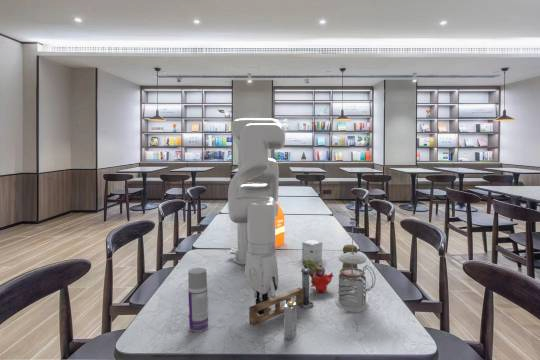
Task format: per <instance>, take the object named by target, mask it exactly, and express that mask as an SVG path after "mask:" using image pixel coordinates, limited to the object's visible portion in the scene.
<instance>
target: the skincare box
mask: <svg viewBox="0 0 540 360" xmlns="http://www.w3.org/2000/svg"><path fill="white" fill-rule="evenodd" d="M301 246H302V247H301V259H302V260H306V259H310V260H312V261H313V262H314V263H315V262H319V261H320V260H322V259H323V242H322V241H319V240H315V239H308V240H305V241H302V242H301Z"/></svg>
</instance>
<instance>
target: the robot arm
mask: <svg viewBox="0 0 540 360" xmlns="http://www.w3.org/2000/svg"><path fill="white" fill-rule="evenodd" d="M230 130H231V131H230V133H231V135H232V138H233V140H234V142H235V144H236V147H237V171H236V172H235V173H234V175H233V176H232V178H231V180H230V182H229V185H228V188H227V189H228V192H227V205H228V206H227V208H228V209H227V210H228V218H229V219H230V220H231V222H233V223H234V224H236V226H237V229H236V231H237V233H236V234H237V248H235V247H231V248H230V251H229V254H230V255H235V256H234V258H233V261H234V263H236V264H237V265H240V266H244V283H245V284H246V285H247V286H248V287H250V288H251V289H253V297H254V298H255V305H256V304H258V303H261V302H263V301H266V300H269V299H271V298H274V297H276V291H277V290H278V289H279V271H278V260H277V255H276V252H277V251H276V249H277V247H276V235H275V218H276V216H277V215H278V204H279V203H278V201H279V182H280V180H279V178H280V176H279V175H280V170H279V169H280V168H279V163H278V161H277V160H275V158H269V150H281V149H283V148H284V146H285V143H286V134H285V129H284V127H283V125H282V123H281V122H280V121H279V119H275V118H249V117H248V118H237V119H233V121H232V122H231V124H230ZM277 203H278V204H277ZM262 314H264V309H263V310H260V311H258V316H260V315H262Z"/></svg>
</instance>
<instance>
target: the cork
mask: <svg viewBox="0 0 540 360" xmlns="http://www.w3.org/2000/svg"><path fill="white" fill-rule="evenodd" d="M358 249H359V248H358V246H357V245H355V244H353V252H355V253H358ZM348 252H352V244H345V245H344V246H343V247H342V254H344V253H348ZM343 268H352V264H347V263H343V262H342V267H341V269H343ZM353 268H357V269H359V268H358V264H353ZM355 279H358V277H356V278H355Z"/></svg>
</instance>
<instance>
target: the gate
mask: <svg viewBox="0 0 540 360" xmlns="http://www.w3.org/2000/svg"><path fill="white" fill-rule="evenodd" d="M294 297H295V300H294V301H293V300H292V298H294ZM287 301H293V302H294V303H296V308H298V307H299V306H301V305H303V289H302V287H297V288H295V289H292V290H289V291H286V292H284V293H281V294H279V295H275V297H274V298H270V299H269V300H266V301H263V302H261V303H258V304H256V303H255V304H253V305H250V306H249V307H248V310H249V311H248V313H249V314H248V316H249V317H248V319H249V320H248V321H249V323H248V324H249V325H250V326H251V327H256V326H257V325H260V324H262V323H264V322H266V321H269V320H271V319H273V318H276V317H277V316H280V315H282V314H284V306H285V305H286V304H287ZM282 302H285V304H284V305H282V306H281V303H282ZM272 306H274V307H275V308H274V309H272V310H270V307H272ZM263 309H264V314H261V315H259V314H258V311H260V310H263Z"/></svg>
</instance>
